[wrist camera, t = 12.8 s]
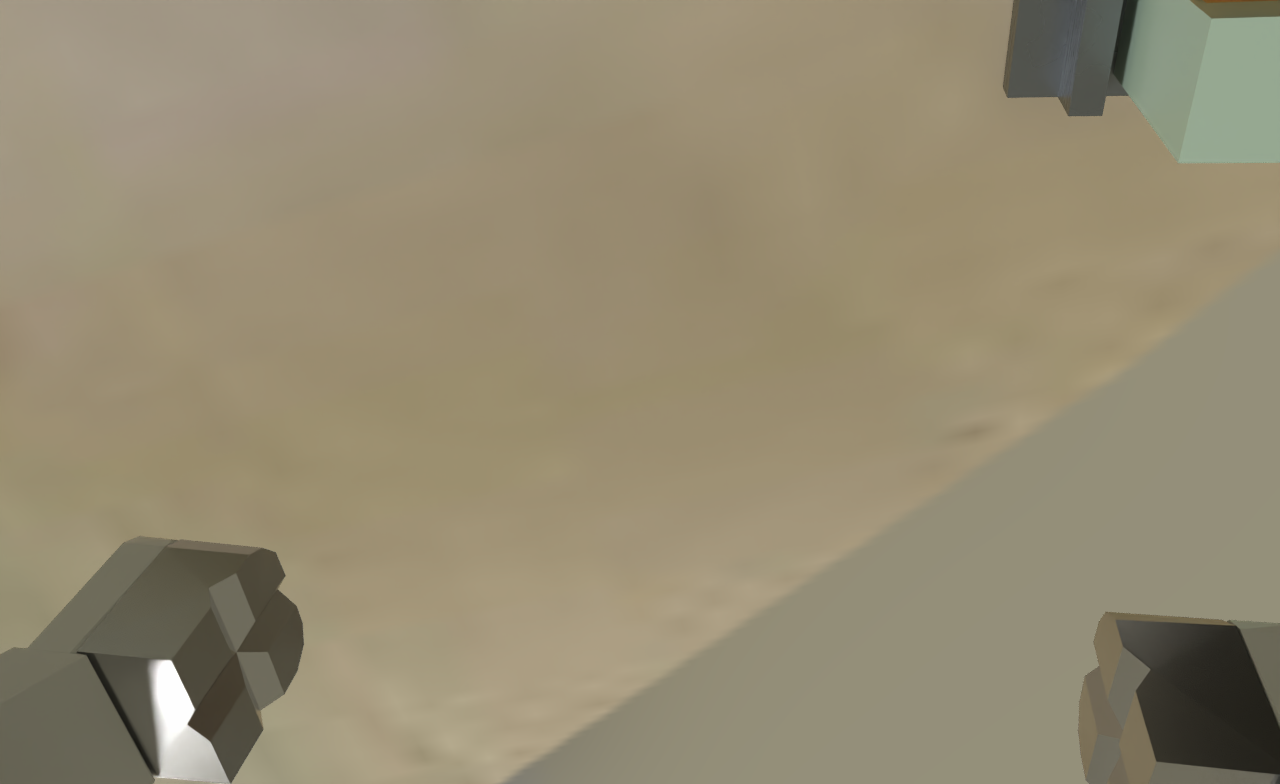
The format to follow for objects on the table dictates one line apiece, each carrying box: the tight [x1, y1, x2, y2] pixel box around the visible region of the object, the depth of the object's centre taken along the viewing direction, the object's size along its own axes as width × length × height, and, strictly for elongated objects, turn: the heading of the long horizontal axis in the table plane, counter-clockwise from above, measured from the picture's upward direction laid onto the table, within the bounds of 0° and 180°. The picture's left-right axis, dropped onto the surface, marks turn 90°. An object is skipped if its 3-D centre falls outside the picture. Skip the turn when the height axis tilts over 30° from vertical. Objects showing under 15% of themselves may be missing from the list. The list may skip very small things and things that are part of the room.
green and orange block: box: [1114, 0, 1280, 163], centre depth 28 cm, size 4×4×8 cm
